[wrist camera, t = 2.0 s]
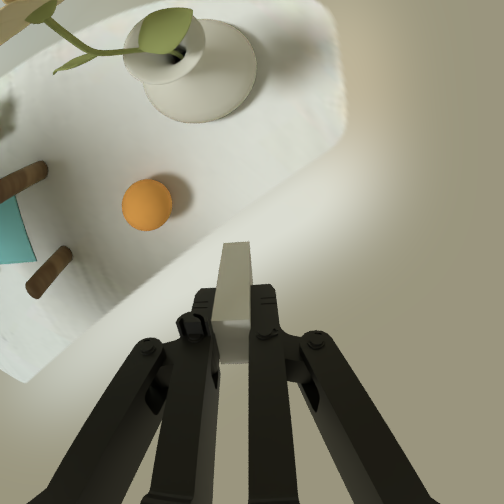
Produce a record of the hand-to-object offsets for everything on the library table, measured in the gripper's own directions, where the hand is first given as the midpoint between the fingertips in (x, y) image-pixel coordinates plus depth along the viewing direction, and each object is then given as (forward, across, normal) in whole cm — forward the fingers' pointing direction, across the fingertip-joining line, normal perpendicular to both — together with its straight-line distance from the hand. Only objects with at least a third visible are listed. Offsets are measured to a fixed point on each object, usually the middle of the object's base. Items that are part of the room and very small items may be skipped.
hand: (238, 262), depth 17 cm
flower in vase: (+16, -4, +14) cm, 21 cm away
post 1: (+16, -26, +6) cm, 31 cm away
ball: (+13, -10, 0) cm, 16 cm away
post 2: (+16, -26, -6) cm, 31 cm away
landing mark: (+15, -40, 0) cm, 43 cm away
